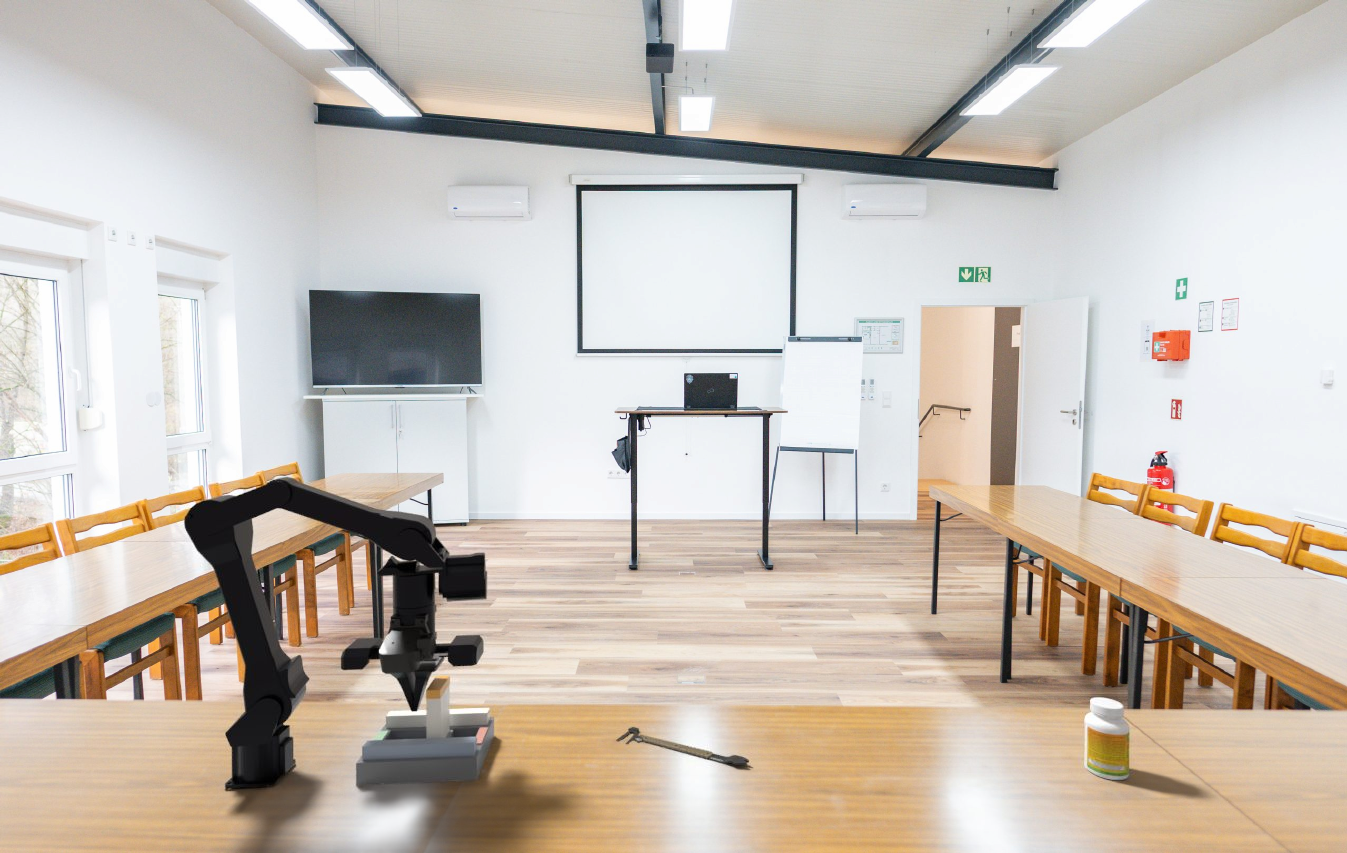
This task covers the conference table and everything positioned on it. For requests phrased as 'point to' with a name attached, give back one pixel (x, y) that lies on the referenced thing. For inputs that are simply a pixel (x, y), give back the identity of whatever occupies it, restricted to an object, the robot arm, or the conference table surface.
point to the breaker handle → (438, 708)
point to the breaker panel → (425, 764)
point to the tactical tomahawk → (683, 748)
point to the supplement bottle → (1106, 740)
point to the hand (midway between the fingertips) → (415, 710)
